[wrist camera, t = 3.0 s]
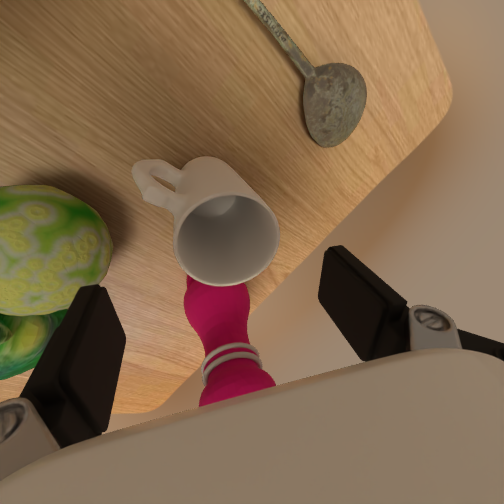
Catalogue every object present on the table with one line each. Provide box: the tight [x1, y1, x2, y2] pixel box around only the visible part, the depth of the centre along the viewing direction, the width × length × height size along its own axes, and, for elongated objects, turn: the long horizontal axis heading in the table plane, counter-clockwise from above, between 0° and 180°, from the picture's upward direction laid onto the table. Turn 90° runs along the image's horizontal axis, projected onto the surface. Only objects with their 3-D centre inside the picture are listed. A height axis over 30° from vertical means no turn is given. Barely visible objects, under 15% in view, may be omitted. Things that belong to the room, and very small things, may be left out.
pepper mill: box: [184, 275, 276, 407], centre depth 23 cm, size 7×7×20 cm
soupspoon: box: [244, 0, 367, 148], centre depth 20 cm, size 22×3×7 cm
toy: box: [0, 309, 68, 380], centre depth 21 cm, size 12×8×15 cm
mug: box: [132, 156, 280, 286], centre depth 20 cm, size 10×7×12 cm, turn 52°
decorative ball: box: [0, 185, 113, 316], centre depth 19 cm, size 10×10×10 cm
